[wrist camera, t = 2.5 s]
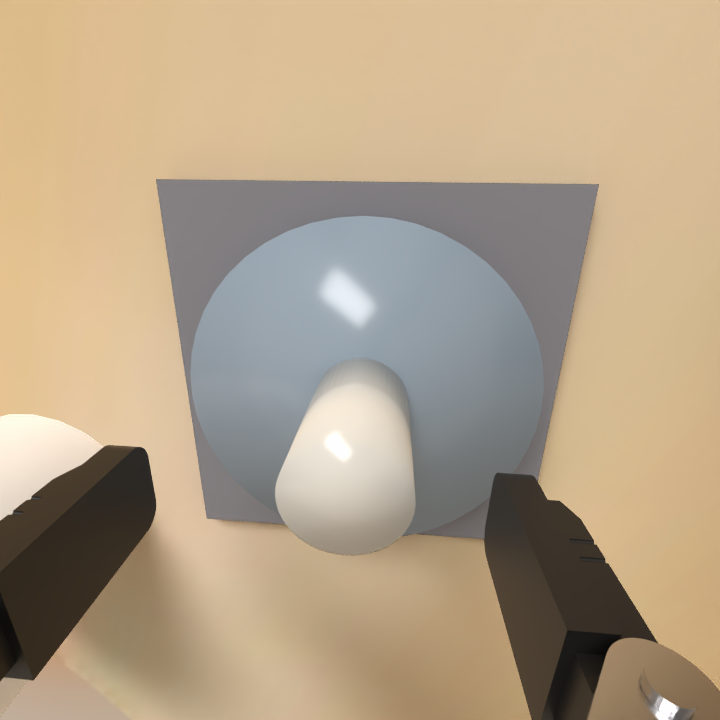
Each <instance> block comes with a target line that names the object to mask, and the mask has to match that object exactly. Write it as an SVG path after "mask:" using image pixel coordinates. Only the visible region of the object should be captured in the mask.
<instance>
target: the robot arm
mask: <svg viewBox="0 0 720 720" xmlns="http://www.w3.org/2000/svg"><path fill="white" fill-rule="evenodd" d="M155 511H156V498H155V493H154V487H153V481H152V476H151V470H150V464H149V459H148V454H147V452H146V451H145V449H144V448H141V447H129V446H114V445H108V446H105V447H103V448H102V449H100V450H99V451H98V452H97V453H96V454H94V455H93V456H92V457H91V458H89V459H88V460H87V461H86V462H85V463H83V464H82V465H81V466H78V467H76V468H74V469H72V470H70V471H68V472H66V473H64V474H62V475H60V476H58V477H56V478H54V479H52V480H51V481H50V482H49V483H47V484H46V485H45V486H44V487H42V488H41V489H40V490H39V491H37V492H36V493H35V494H33V495H32V496H31V499H30V500H26V501H25V502H23V503H22V504H21V505H20V506H18V507H17V508H16V509H14V510H13V513H12V515H7V516H6V517H4V518H3V519H2V520H1V521H0V681H1V680H2V679H3V678H4V677H5V678H15V679H24V680H34V679H35V678H36V676H37V675H38V674H39V672H40V671H41V670H42V669H43V667H44V666H45V665H46V663H47V662H48V661H49V660H50V658H51V657H52V656H53V654H54V653H55V652H56V650H57V649H58V648H59V646H60V645H61V644H62V643H63V641H64V640H65V639H66V637H67V636H68V635H69V633H70V632H71V631H72V629H73V628H74V627H75V625H76V624H77V623H78V622H79V620H80V619H81V618H82V616H83V615H84V614H85V612H86V611H87V610H88V608H89V607H90V606H91V605H92V603H93V602H94V601H95V599H96V598H97V597H98V595H99V594H100V593H101V591H102V590H103V589H104V587H105V586H106V585H107V584H108V582H109V581H110V580H111V578H112V577H113V576H114V574H115V573H116V572H117V570H118V569H119V568H120V566H121V565H122V564H123V563H124V561H125V560H126V559H127V557H128V556H129V555H130V553H131V552H132V551H133V549H134V548H135V547H136V546H137V544H138V543H139V542H140V540H141V539H142V538H143V536H144V535H145V534H146V532H147V531H148V530H149V528H150V526H151V524H152V522H153V519H154V516H155ZM484 542H485V552H486V557H487V561H488V565H489V568H490V572H491V576H492V579H493V583H494V586H495V590H496V593H497V597H498V601H499V604H500V608H501V611H502V615H503V618H504V622H505V625H506V629H507V633H508V636H509V640H510V643H511V647H512V650H513V654H514V658H515V661H516V665H517V668H518V672H519V675H520V679H521V683H522V686H523V690H524V693H525V697H526V700H527V704H528V708H529V711H530V715H531V718H532V720H720V691H719V690H718V688H717V687H716V686H715V685H714V683H713V682H712V681H711V680H710V679H709V678H708V677H707V676H706V675H705V674H704V673H703V672H702V671H700V670H699V669H698V668H697V667H696V666H695V665H693V664H692V663H691V662H689V661H688V660H687V659H685V658H684V657H683V656H681V655H679V654H678V653H676V652H675V651H673V650H671V649H669V648H667V647H665V646H663V645H661V644H658V642H657V641H656V639H655V638H654V636H653V635H652V633H651V631H650V630H649V628H648V627H647V625H646V623H645V622H644V620H643V619H642V617H641V615H640V614H639V612H638V610H637V609H636V607H635V606H634V604H633V602H632V601H631V599H630V598H629V596H628V594H627V593H626V591H625V590H624V588H623V586H622V585H621V583H620V582H619V580H618V578H617V577H616V575H615V574H614V572H613V570H612V569H611V567H610V566H609V564H607V563H606V562H605V558H604V556H603V554H602V553H601V551H600V550H599V548H598V546H597V545H594V540H593V538H592V537H591V535H590V533H589V532H588V530H587V529H586V527H585V525H584V524H583V522H582V521H581V519H580V518H579V517H577V516H576V515H575V514H574V513H573V512H572V511H571V510H569V509H568V508H567V507H566V506H565V505H564V504H563V503H561V502H560V501H554V500H547V498H546V496H545V494H544V493H543V491H542V489H541V487H540V485H539V484H538V482H537V480H536V478H535V477H534V476H533V475H525V474H510V473H496V474H495V476H494V480H493V485H492V490H491V496H490V502H489V507H488V513H487V519H486V524H485V533H484Z"/></svg>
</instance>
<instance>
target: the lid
mask: <svg viewBox="0 0 720 720" xmlns="http://www.w3.org/2000/svg"><path fill="white" fill-rule="evenodd" d="M190 375H191V387H192V396H193V401H194V405H195V410H196V414H197V417H198V420H199V422H200V425H201V428H202V431H203V433H204V435H205V437H206V439H207V441H208V443H209V445H210V447H211V449H212V451H213V452H214V454H215V455H216V457H217V458H218V460H219V461H220V463H221V464H222V465H223V467H224V468H225V469H226V470H227V472H228V473H229V474H230V475H231V476H232V477H233V479H234V480H235V481H236V482H237V483H238V484H239V485H240V486H241V487H242V488H244V489H245V490H246V491H247V492H248V493H249V494H250V495H251V496H253V497H254V498H255V499H257V500H258V501H259V502H261V503H262V504H263V505H265V506H266V507H268V508H269V509H271V510H273V511H274V512H276V513H278V514H280V515H281V518H282V519H283V521H284V522H285V524H286V525H287V527H288V528H289V529H290V530H291V531H292V532H293V533H294V534H295V535H296V536H297V537H299V538H300V539H301V540H303V541H304V542H306V543H307V544H309V545H311V546H313V547H315V548H317V549H319V550H322V551H325V552H329V553H333V554H339V555H363V554H368V553H372V552H376V551H379V550H381V549H383V548H386V547H387V546H389V545H391V544H392V543H394V542H395V541H396V540H398V539H399V538H400V537H401V536H406V535H412V534H417V533H421V532H424V531H427V530H431V529H434V528H437V527H440V526H442V525H444V524H447V523H449V522H451V521H454V520H456V519H458V518H459V517H461V516H463V515H465V514H466V513H468V512H470V511H472V510H473V509H475V508H476V507H477V506H479V505H480V504H481V503H483V502H484V501H485V500H487V499H488V498H490V496H491V490H492V485H493V480H494V476H495V474H496V473H510V474H512V473H513V472H514V471H515V469H516V468H517V467H518V465H519V463H520V462H521V460H522V458H523V457H524V455H525V454H526V452H527V450H528V448H529V446H530V443H531V441H532V439H533V436H534V434H535V432H536V428H537V425H538V421H539V417H540V414H541V409H542V401H543V392H544V378H543V363H542V358H541V353H540V347H539V343H538V340H537V337H536V335H535V332H534V329H533V326H532V323H531V321H530V319H529V317H528V315H527V313H526V311H525V310H524V308H523V306H522V304H521V302H520V300H519V299H518V298H517V296H516V295H515V294H514V292H513V291H512V289H511V288H510V287H509V285H508V284H507V283H506V281H505V280H504V279H503V278H502V277H501V276H500V275H499V274H498V273H497V272H496V271H495V270H494V269H493V268H492V267H491V266H490V265H489V264H488V263H487V262H486V261H484V260H483V259H482V258H480V257H479V256H478V255H476V254H475V253H474V252H472V251H471V250H470V249H468V248H467V247H465V246H464V245H462V244H460V243H458V242H456V241H455V240H453V239H451V238H449V237H447V236H445V235H444V234H442V233H440V232H438V231H435V230H433V229H430V228H428V227H425V226H422V225H420V224H417V223H414V222H410V221H405V220H401V219H396V218H392V217H381V216H369V215H365V216H347V217H338V218H333V219H328V220H323V221H318V222H313V223H309V224H307V225H304V226H301V227H298V228H295V229H292V230H290V231H287V232H285V233H283V234H281V235H279V236H277V237H275V238H273V239H271V240H270V241H268V242H266V243H264V244H263V245H261V246H260V247H259V248H257V249H256V250H254V251H253V252H252V253H250V254H249V255H247V256H246V257H245V258H244V259H243V260H242V261H241V262H240V263H239V264H238V265H237V266H236V267H235V268H234V269H232V270H231V271H230V272H229V273H228V274H227V276H226V277H225V278H224V280H223V281H222V282H221V284H220V285H219V286H218V288H217V289H216V290H215V292H214V293H213V295H212V297H211V299H210V301H209V302H208V304H207V306H206V308H205V310H204V312H203V314H202V317H201V320H200V322H199V325H198V328H197V331H196V334H195V339H194V344H193V349H192V356H191V372H190Z"/></svg>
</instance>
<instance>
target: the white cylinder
mask: <svg viewBox="0 0 720 720" xmlns="http://www.w3.org/2000/svg"><path fill="white" fill-rule="evenodd" d="M102 448H103V446H102V445H101V444H99V443H98V442H96V441H95V440H94V439H92V438H91V437H90V436H88V435H87V434H86V433H84V432H82V431H80V430H78V429H76V428H73V427H71V426H69V425H67V424H65V423H63V422H61V421H58V420H54V419H50V418H46V417H42V416H38V415H27V414H9V415H5V416H1V417H0V521H1V520H2V519H3V518H4V517H6V516H7V515H12V513H13V510H14V509H16V508H17V507H18V506H20V505H21V504H22V503H23V502H25V501H26V500H30V499H31V496H32V495H33V494H35V493H36V492H37V491H39V490H40V489H41V488H42V487H44V486H45V485H46V484H47V483H49V482H50V481H51V480H52V479H54V478H56V477H58V476H60V475H62V474H64V473H66V472H68V471H70V470H72V469H74V468H76V467H78V466H81V465H82V464H83V463H85V462H86V461H87V460H88V459H89V458H91V457H92V456H93V455H94V454H96V453H97V452H98V451H99V450H100V449H102ZM28 681H29V680H24V679H15V678H5V677H4V678H3V679H2V680H1V681H0V717H1V715H2V714H3V713H4V712H5V710H6V709H7V708H8V706H9V705H10V704H11V703H12V701H13V700H14V699H15V698H16V696H17V695H18V694H19V692H20V691H21V690H22V689H23V687H24V686H25V685H26V683H27V682H28Z"/></svg>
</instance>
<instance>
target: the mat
mask: <svg viewBox="0 0 720 720" xmlns="http://www.w3.org/2000/svg"><path fill="white" fill-rule="evenodd" d="M156 182H157V189H158V196H159V202H160V209H161V216H162V222H163V229H164V236H165V242H166V249H167V256H168V262H169V269H170V276H171V282H172V289H173V296H174V302H175V309H176V316H177V322H178V329H179V336H180V342H181V349H182V356H183V362H184V369H185V376H186V382H187V389H188V396H189V402H190V409H191V416H192V422H193V429H194V436H195V442H196V449H197V456H198V462H199V469H200V476H201V482H202V489H203V496H204V502H205V509H206V516H207V519H220V520H234V521H247V522H261V523H274V524H285V522H284V521H283V519H282V518H281V515H280V514H278V513H276V512H274V511H273V510H271V509H269V508H268V507H266V506H265V505H263V504H262V503H261V502H259V501H258V500H257V499H255V498H254V497H253V496H251V495H250V494H249V493H248V492H247V491H246V490H245V489H244V488H242V487H241V486H240V485H239V484H238V483H237V482H236V481H235V480H234V479H233V477H232V476H231V475H230V474H229V473H228V472H227V470H226V469H225V468H224V467H223V465H222V464H221V463H220V461H219V460H218V458H217V457H216V455H215V454H214V452H213V451H212V449H211V447H210V445H209V443H208V441H207V439H206V437H205V435H204V433H203V431H202V428H201V425H200V422H199V420H198V417H197V414H196V410H195V405H194V401H193V396H192V387H191V375H190V372H191V356H192V349H193V344H194V339H195V334H196V331H197V328H198V325H199V322H200V320H201V317H202V314H203V312H204V310H205V308H206V306H207V304H208V302H209V301H210V299H211V297H212V295H213V293H214V292H215V290H216V289H217V288H218V286H219V285H220V284H221V282H222V281H223V280H224V278H225V277H226V276H227V274H228V273H229V272H230V271H231V270H232V269H234V268H235V267H236V266H237V265H238V264H239V263H240V262H241V261H242V260H243V259H244V258H245V257H246V256H247V255H249V254H250V253H252V252H253V251H254V250H256V249H257V248H259V247H260V246H261V245H263V244H264V243H266V242H268V241H270V240H271V239H273V238H275V237H277V236H279V235H281V234H283V233H285V232H287V231H290V230H292V229H295V228H298V227H301V226H304V225H307V224H309V223H313V222H318V221H323V220H328V219H333V218H338V217H347V216H365V215H369V216H381V217H392V218H396V219H401V220H405V221H410V222H414V223H417V224H420V225H422V226H425V227H428V228H430V229H433V230H435V231H438V232H440V233H442V234H444V235H445V236H447V237H449V238H451V239H453V240H455V241H456V242H458V243H460V244H462V245H464V246H465V247H467V248H468V249H470V250H471V251H472V252H474V253H475V254H476V255H478V256H479V257H480V258H482V259H483V260H484V261H486V262H487V263H488V264H489V265H490V266H491V267H492V268H493V269H494V270H495V271H496V272H497V273H498V274H499V275H500V276H501V277H502V278H503V279H504V280H505V281H506V283H507V284H508V285H509V287H510V288H511V289H512V291H513V292H514V294H515V295H516V296H517V298H518V299H519V300H520V302H521V304H522V306H523V308H524V310H525V311H526V313H527V315H528V317H529V319H530V321H531V323H532V326H533V329H534V332H535V335H536V337H537V340H538V343H539V347H540V353H541V358H542V363H543V378H544V392H543V401H542V409H541V414H540V417H539V421H538V425H537V428H536V432H535V434H534V436H533V439H532V441H531V443H530V446H529V448H528V450H527V452H526V454H525V455H524V457H523V458H522V460H521V462H520V463H519V465H518V467H517V468H516V469H515V471H514V472H513V473H512V474H525V475H533V476H534V477H535V478H536V480H537V481H538V476H539V471H540V467H541V462H542V457H543V452H544V447H545V442H546V438H547V433H548V428H549V423H550V418H551V413H552V409H553V404H554V399H555V394H556V389H557V384H558V379H559V375H560V370H561V365H562V360H563V355H564V350H565V346H566V341H567V336H568V331H569V326H570V321H571V316H572V312H573V307H574V302H575V297H576V292H577V287H578V283H579V278H580V273H581V268H582V263H583V258H584V254H585V249H586V244H587V239H588V234H589V229H590V224H591V220H592V215H593V210H594V205H595V200H596V195H597V191H598V186H599V184H522V183H434V182H345V181H257V180H169V179H156ZM489 502H490V498H488V499H487V500H485V501H484V502H483V503H481V504H480V505H479V506H477V507H476V508H475V509H473V510H472V511H470V512H468V513H466V514H465V515H463V516H461V517H459V518H458V519H456V520H454V521H451V522H449V523H447V524H444V525H442V526H440V527H437V528H434V529H431V530H427V531H424V532H421V533H417V534H422V535H436V536H449V537H463V538H476V539H484V533H485V524H486V519H487V513H488V507H489Z"/></svg>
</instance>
